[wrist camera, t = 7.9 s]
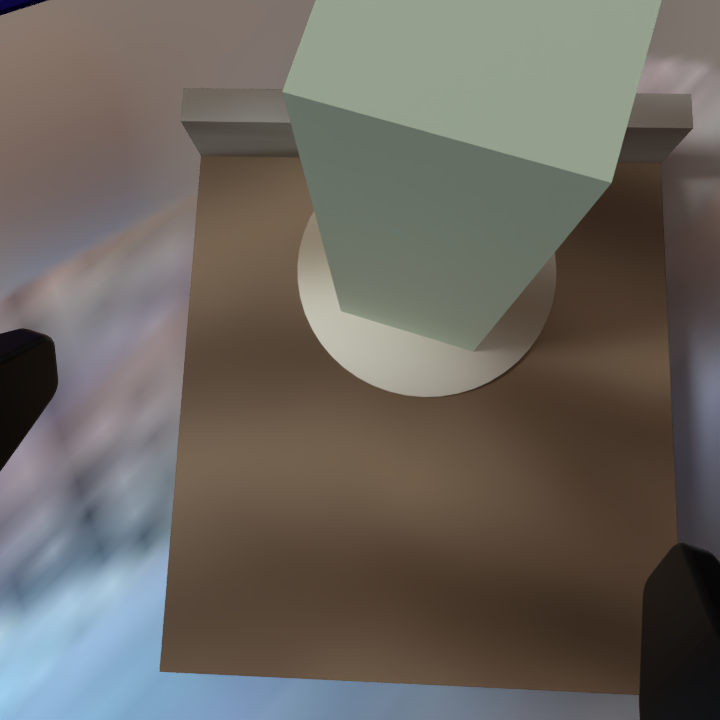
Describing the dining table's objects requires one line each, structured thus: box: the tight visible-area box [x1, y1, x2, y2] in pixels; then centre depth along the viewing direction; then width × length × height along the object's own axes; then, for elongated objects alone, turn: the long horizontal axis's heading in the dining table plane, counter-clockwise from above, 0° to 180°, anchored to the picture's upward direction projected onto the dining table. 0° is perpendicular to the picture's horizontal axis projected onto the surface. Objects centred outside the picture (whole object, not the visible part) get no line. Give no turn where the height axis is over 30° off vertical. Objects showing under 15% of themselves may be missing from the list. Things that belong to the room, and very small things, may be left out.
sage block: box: [282, 0, 661, 351], centre depth 13 cm, size 4×4×11 cm
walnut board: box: [160, 88, 693, 695], centre depth 18 cm, size 16×14×3 cm
